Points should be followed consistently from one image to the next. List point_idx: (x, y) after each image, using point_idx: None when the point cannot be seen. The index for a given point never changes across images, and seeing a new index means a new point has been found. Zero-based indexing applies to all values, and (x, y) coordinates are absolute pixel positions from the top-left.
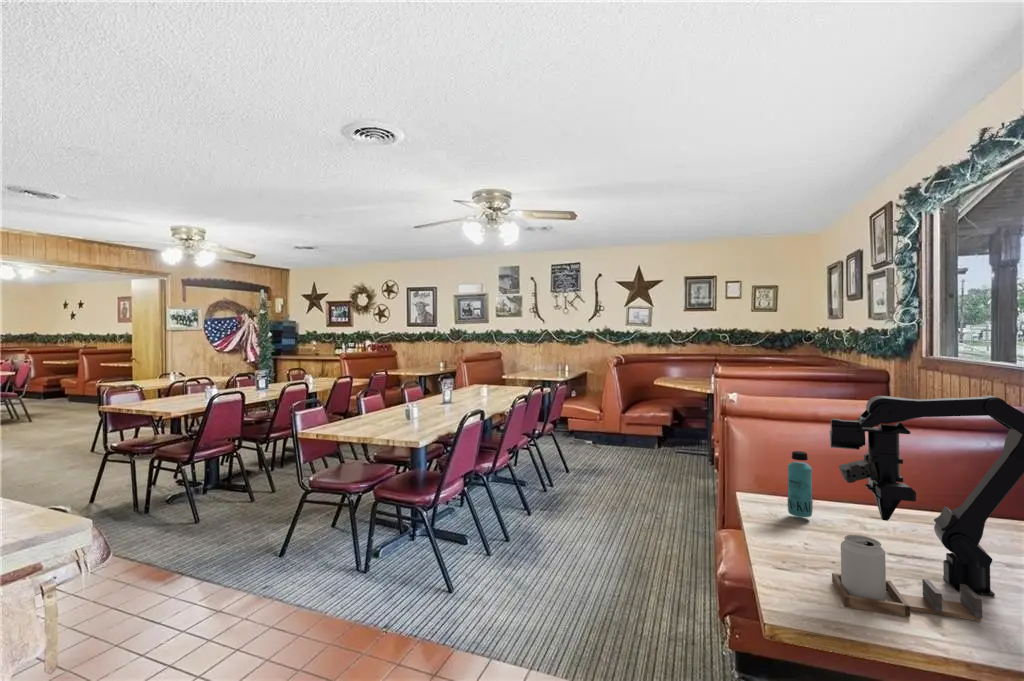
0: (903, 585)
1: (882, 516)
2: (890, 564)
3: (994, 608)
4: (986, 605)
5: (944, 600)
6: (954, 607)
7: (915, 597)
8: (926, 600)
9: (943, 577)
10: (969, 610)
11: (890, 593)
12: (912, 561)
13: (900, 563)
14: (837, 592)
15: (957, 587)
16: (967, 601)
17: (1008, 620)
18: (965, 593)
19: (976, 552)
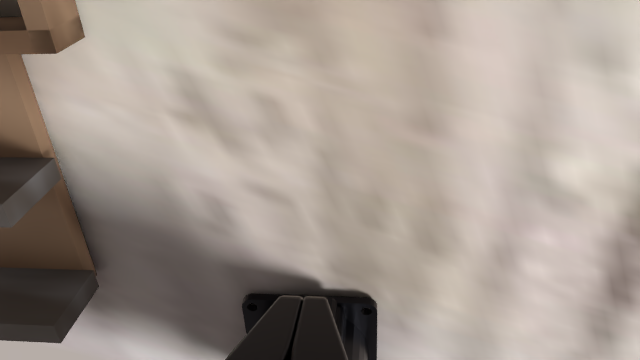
0: (207, 118)
1: (256, 327)
2: (485, 138)
3: (157, 342)
4: (169, 331)
5: (63, 222)
6: (14, 233)
7: (14, 122)
8: (12, 157)
9: (363, 300)
10: (20, 269)
11: (2, 20)
12: (558, 250)
13: (515, 190)
14: None
15: (260, 308)
16: (14, 289)
17: (81, 341)
18: (14, 309)
19: None
